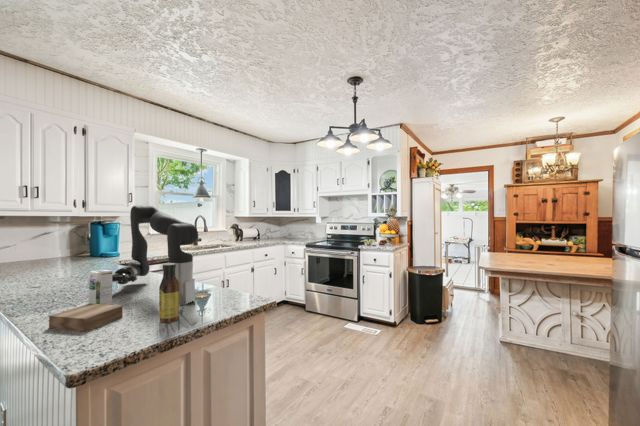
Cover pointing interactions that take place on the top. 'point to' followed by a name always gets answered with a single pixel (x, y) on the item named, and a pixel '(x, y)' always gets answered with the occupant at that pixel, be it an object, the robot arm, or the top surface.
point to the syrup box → (100, 287)
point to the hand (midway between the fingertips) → (111, 281)
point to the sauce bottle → (169, 294)
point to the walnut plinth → (85, 317)
